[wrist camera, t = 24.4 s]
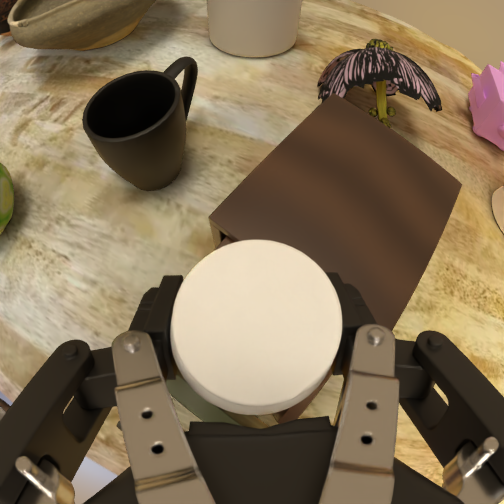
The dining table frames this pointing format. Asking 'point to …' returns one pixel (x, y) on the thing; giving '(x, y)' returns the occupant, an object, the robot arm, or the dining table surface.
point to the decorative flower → (378, 77)
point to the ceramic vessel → (5, 16)
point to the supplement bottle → (255, 327)
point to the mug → (143, 123)
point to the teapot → (488, 104)
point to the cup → (499, 206)
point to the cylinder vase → (253, 26)
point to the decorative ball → (5, 197)
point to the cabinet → (347, 204)
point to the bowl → (74, 22)
